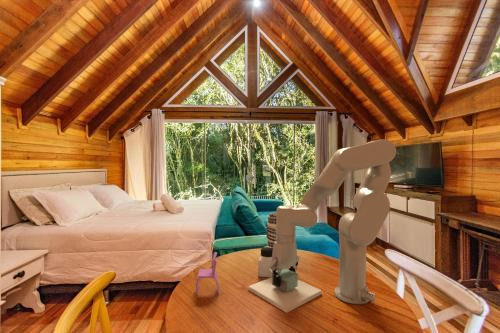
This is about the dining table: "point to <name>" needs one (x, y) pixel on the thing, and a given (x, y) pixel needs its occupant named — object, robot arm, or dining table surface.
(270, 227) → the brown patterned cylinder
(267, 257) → the medicine bottle
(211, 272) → the toy chair
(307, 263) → the dining table surface
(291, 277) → the sage green cube
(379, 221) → the robot arm
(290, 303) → the post block
